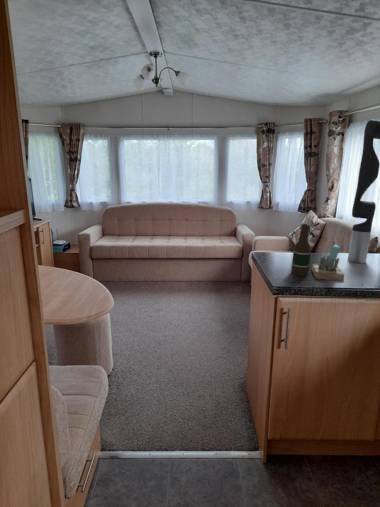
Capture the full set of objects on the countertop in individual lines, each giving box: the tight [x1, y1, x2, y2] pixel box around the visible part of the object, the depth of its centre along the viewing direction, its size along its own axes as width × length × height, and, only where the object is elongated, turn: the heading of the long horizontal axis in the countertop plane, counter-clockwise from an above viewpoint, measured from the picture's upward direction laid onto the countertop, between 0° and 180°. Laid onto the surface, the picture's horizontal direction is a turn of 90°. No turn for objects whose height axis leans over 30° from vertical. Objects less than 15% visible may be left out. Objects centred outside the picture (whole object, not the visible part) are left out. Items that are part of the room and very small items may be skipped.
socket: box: [311, 254, 345, 282], centre depth 161 cm, size 14×12×9 cm
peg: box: [325, 244, 341, 270], centre depth 156 cm, size 3×3×14 cm
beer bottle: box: [291, 223, 312, 277], centre depth 160 cm, size 8×8×24 cm
